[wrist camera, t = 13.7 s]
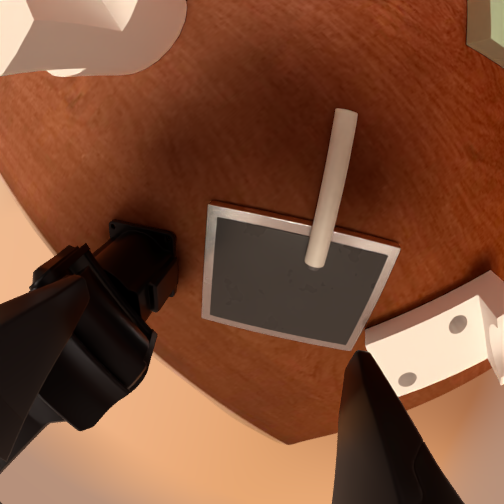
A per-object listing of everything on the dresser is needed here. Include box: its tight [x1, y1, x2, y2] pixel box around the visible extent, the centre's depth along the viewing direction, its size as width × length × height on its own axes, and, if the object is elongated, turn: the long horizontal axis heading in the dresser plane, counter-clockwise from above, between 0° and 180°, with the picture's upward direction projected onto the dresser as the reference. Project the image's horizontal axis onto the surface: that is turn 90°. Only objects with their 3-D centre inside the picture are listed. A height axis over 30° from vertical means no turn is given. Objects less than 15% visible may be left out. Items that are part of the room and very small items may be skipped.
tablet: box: [202, 200, 401, 351], centre depth 22 cm, size 14×11×1 cm
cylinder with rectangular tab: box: [0, 0, 187, 77], centre depth 9 cm, size 9×9×12 cm
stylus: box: [304, 108, 358, 271], centre depth 17 cm, size 1×1×11 cm
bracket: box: [365, 270, 504, 397], centre depth 18 cm, size 13×7×8 cm, turn 125°
